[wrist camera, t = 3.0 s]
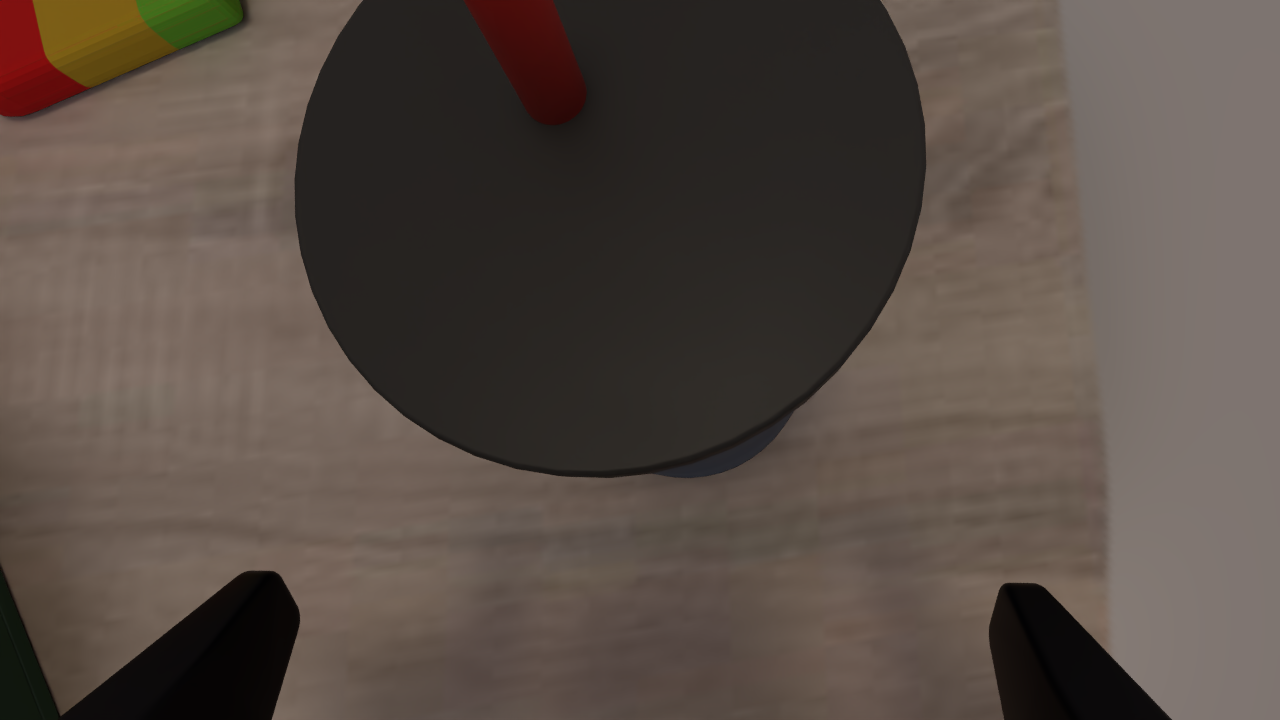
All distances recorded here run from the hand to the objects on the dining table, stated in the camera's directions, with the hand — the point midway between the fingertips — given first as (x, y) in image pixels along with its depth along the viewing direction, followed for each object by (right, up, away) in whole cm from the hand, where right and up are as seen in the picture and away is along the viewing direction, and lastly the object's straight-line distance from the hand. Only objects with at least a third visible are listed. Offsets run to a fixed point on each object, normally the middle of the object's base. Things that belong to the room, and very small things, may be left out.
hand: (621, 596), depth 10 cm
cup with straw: (+2, +3, +12) cm, 12 cm away
